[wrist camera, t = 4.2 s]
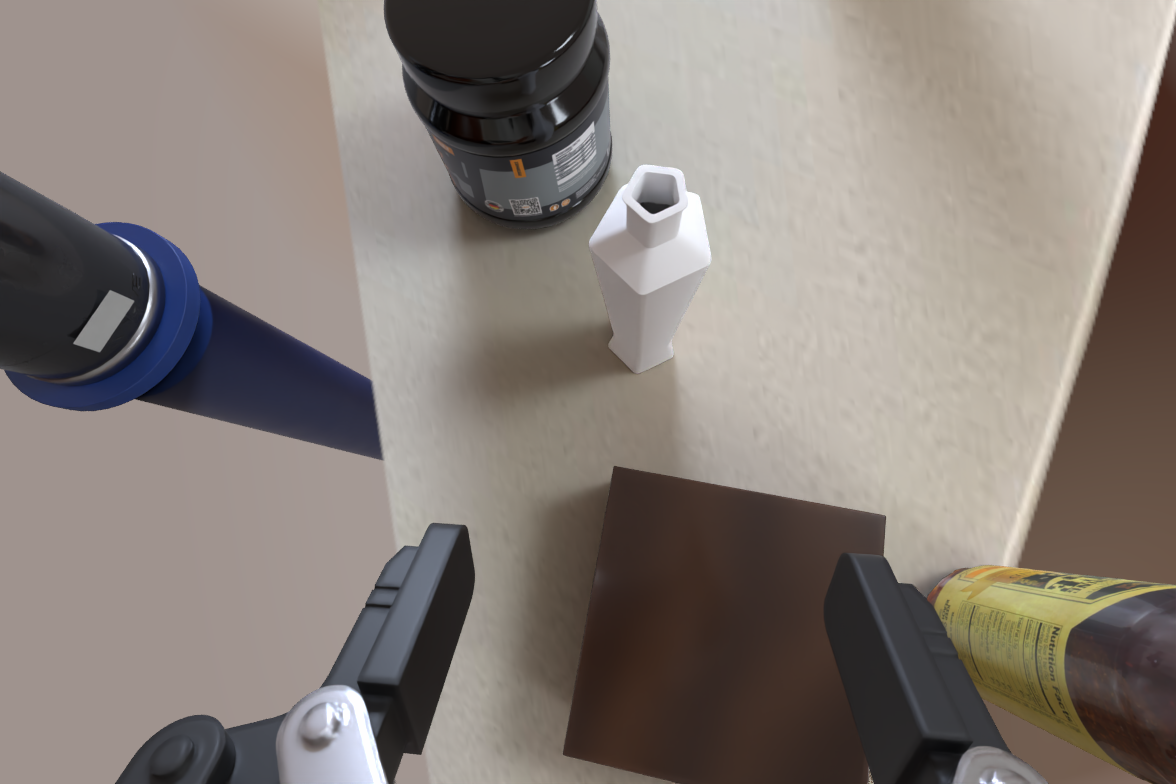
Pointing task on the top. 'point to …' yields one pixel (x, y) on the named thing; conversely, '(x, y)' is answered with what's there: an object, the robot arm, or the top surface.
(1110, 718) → the sauce bottle
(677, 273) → the white faceted vase
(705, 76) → the top surface
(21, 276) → the robot arm
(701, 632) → the box
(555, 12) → the supplement container
